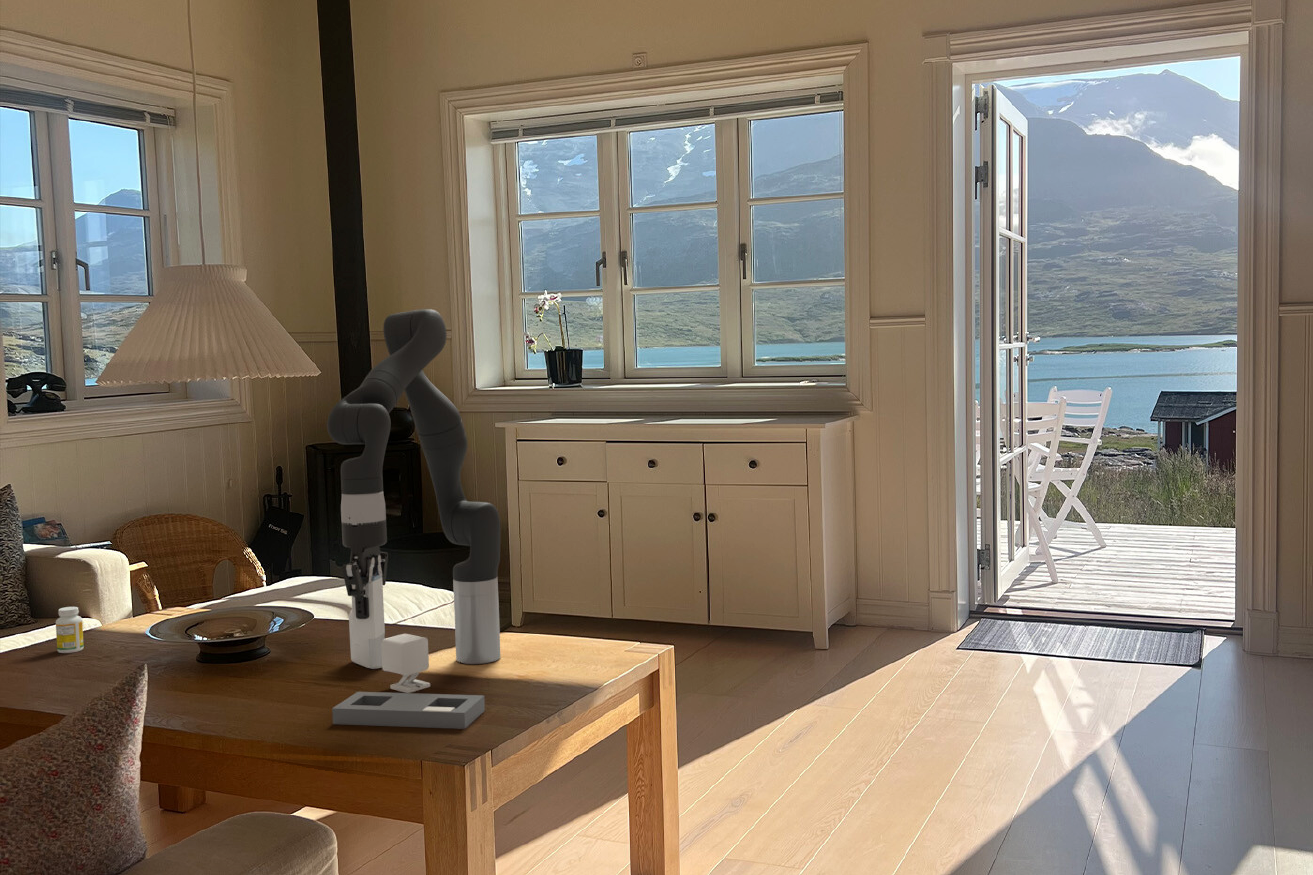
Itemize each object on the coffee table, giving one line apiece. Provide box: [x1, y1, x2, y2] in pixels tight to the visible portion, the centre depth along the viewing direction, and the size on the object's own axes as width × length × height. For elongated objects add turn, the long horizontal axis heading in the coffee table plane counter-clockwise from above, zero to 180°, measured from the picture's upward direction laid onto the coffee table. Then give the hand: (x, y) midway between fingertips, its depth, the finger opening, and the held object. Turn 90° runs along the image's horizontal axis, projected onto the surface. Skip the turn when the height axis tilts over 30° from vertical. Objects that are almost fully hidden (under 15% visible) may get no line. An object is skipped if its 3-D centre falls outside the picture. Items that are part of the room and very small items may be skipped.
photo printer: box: [348, 609, 385, 670], centre depth 239 cm, size 10×4×12 cm, turn 39°
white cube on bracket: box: [381, 633, 431, 693], centre depth 219 cm, size 6×7×10 cm
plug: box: [351, 575, 386, 639], centre depth 201 cm, size 4×4×11 cm
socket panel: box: [331, 691, 486, 730], centre depth 200 cm, size 10×24×4 cm, turn 79°
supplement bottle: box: [55, 606, 85, 654], centre depth 258 cm, size 5×5×10 cm
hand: (368, 615), depth 201 cm, fingers closed on plug, 4 cm apart
